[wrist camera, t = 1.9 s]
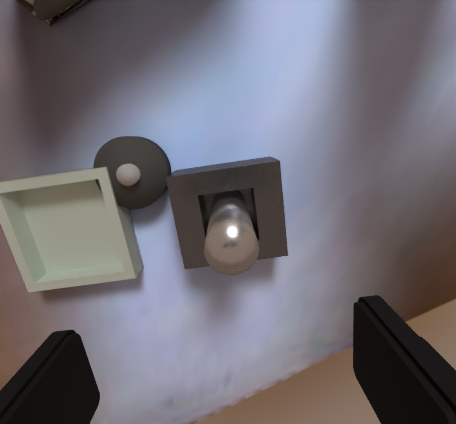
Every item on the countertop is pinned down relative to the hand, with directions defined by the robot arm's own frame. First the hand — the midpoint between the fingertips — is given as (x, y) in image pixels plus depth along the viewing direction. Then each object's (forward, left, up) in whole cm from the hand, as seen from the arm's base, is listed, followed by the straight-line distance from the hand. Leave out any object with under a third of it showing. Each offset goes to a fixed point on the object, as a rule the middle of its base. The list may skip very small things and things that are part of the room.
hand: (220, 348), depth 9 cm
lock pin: (0, 0, -20) cm, 20 cm away
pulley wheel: (+9, -5, -21) cm, 23 cm away
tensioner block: (0, 0, -21) cm, 21 cm away
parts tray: (+17, 0, -21) cm, 26 cm away
